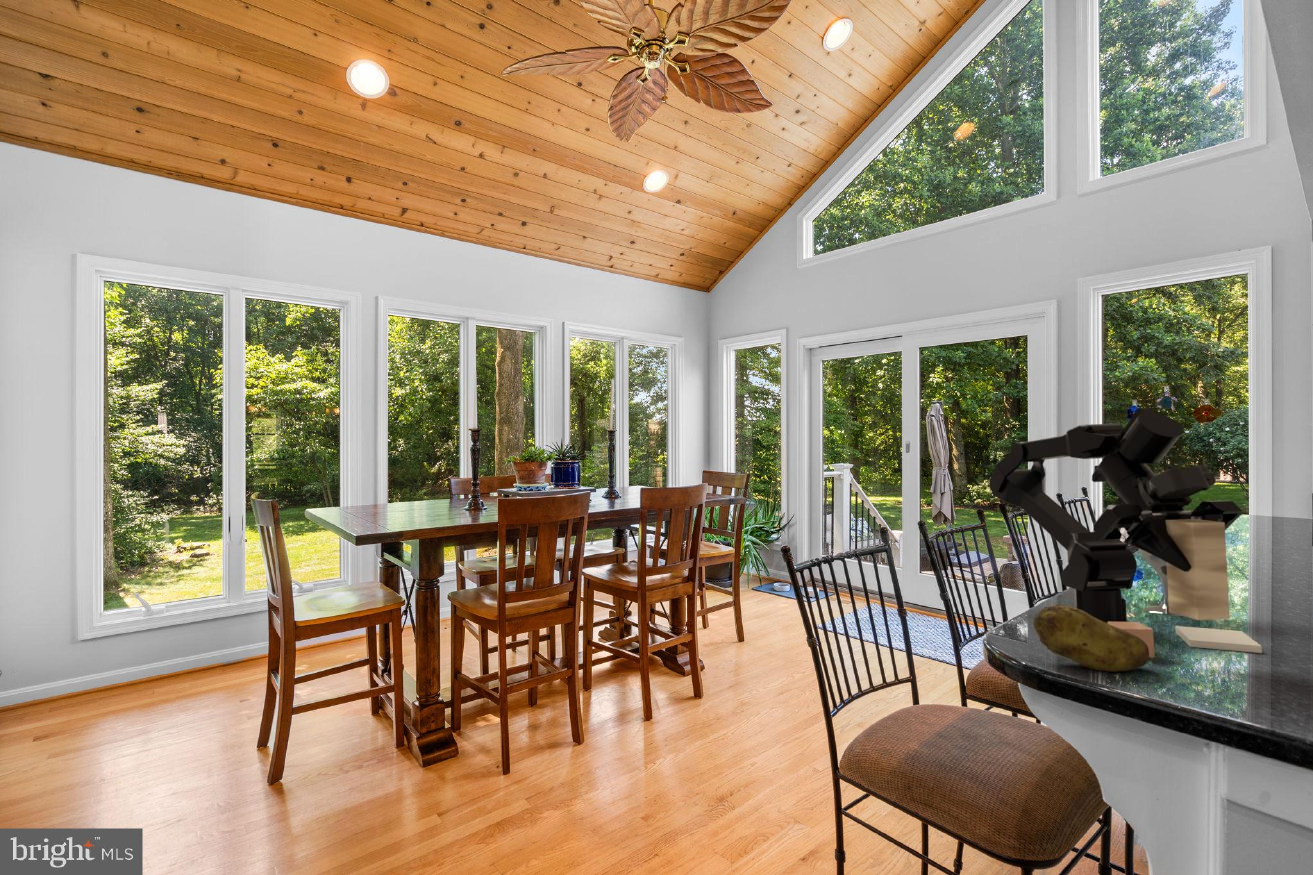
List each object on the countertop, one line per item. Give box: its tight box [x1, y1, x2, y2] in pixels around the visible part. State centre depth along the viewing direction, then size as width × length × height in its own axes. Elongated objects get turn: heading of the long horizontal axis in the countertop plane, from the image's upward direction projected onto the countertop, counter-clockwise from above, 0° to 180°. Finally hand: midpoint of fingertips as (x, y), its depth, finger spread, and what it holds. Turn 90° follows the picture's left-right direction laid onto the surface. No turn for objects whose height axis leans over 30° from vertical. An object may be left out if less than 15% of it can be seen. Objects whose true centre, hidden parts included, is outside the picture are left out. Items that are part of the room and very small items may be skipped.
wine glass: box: [1138, 548, 1183, 617], centre depth 112 cm, size 8×8×15 cm
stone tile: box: [1175, 625, 1263, 654], centre depth 94 cm, size 8×8×1 cm
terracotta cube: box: [1108, 621, 1155, 658], centre depth 91 cm, size 4×4×4 cm
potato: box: [1033, 604, 1150, 672], centre depth 86 cm, size 8×13×8 cm, turn 51°
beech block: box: [1165, 519, 1231, 621], centre depth 87 cm, size 4×4×13 cm
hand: (1205, 569), depth 85 cm, fingers closed on beech block, 4 cm apart
